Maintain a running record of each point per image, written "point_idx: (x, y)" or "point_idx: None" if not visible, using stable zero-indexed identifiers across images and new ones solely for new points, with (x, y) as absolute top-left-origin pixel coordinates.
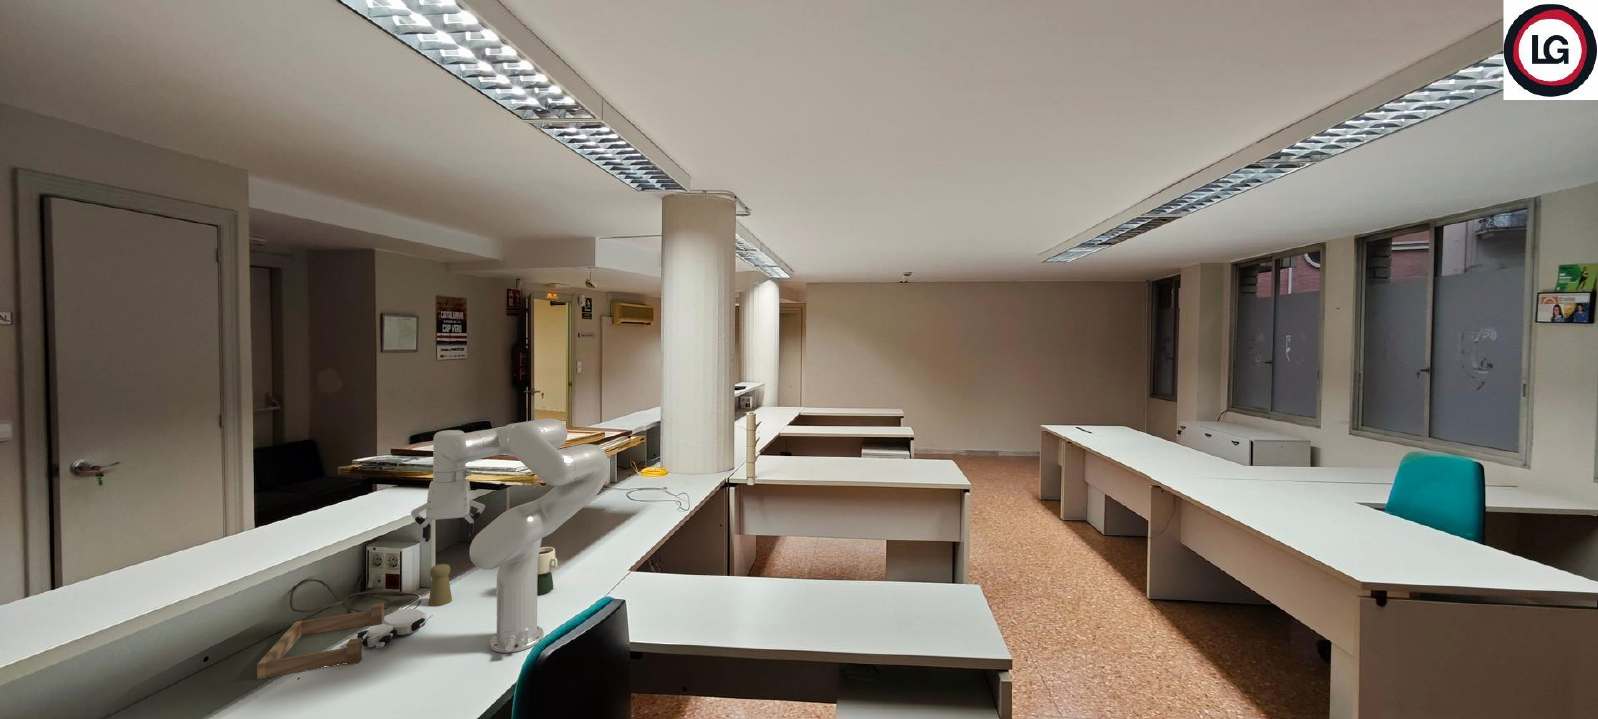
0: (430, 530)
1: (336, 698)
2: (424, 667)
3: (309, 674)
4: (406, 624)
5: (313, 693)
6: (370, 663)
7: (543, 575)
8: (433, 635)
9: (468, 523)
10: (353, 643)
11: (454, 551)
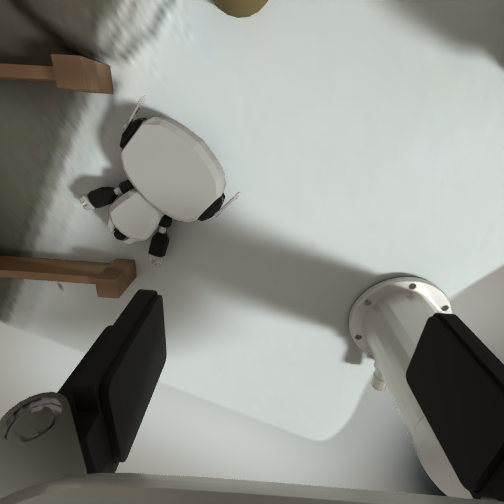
0: (137, 342)
1: None
2: (246, 336)
3: None
4: (186, 220)
5: None
6: (157, 286)
7: None
8: (247, 223)
9: (490, 496)
10: (109, 296)
11: None
